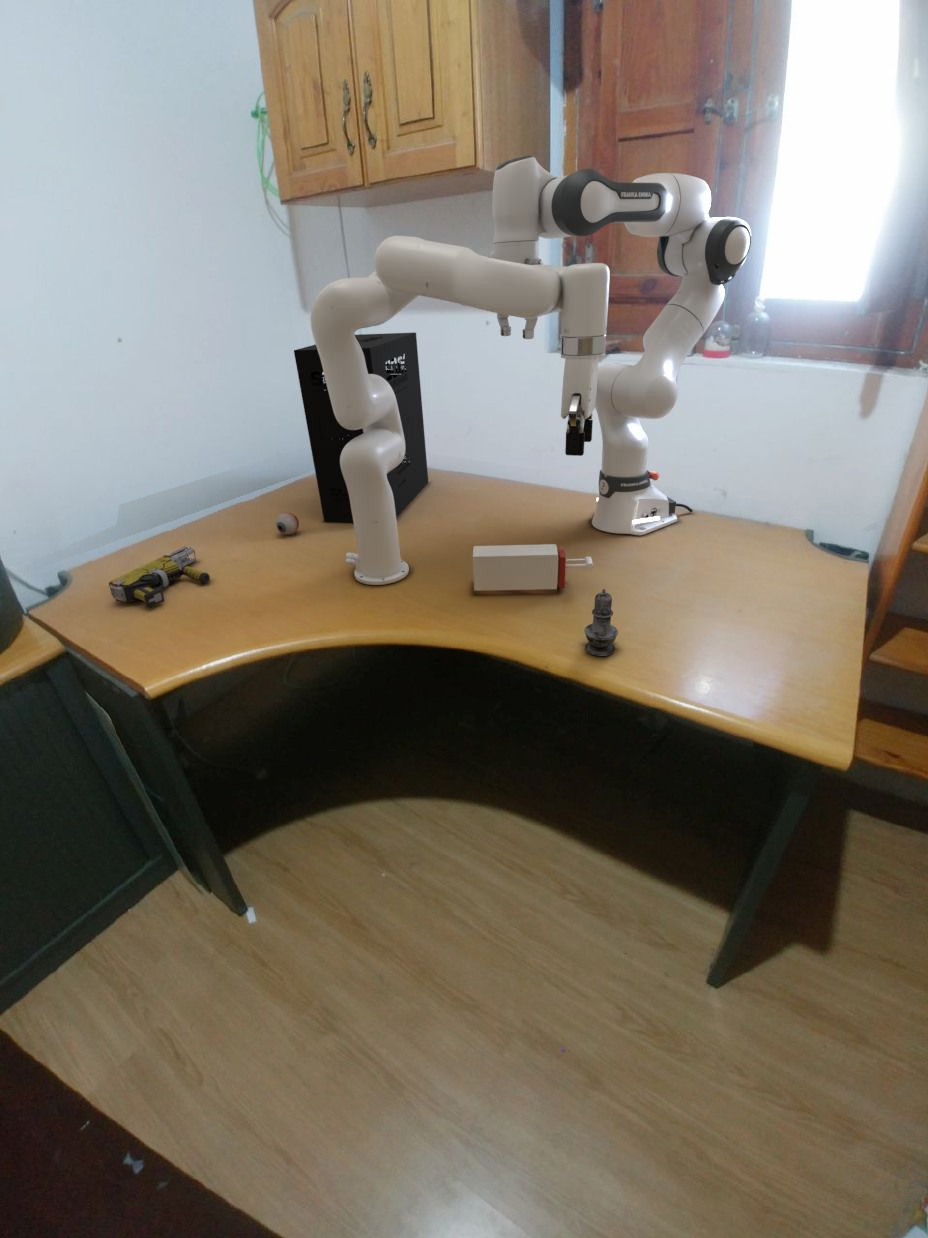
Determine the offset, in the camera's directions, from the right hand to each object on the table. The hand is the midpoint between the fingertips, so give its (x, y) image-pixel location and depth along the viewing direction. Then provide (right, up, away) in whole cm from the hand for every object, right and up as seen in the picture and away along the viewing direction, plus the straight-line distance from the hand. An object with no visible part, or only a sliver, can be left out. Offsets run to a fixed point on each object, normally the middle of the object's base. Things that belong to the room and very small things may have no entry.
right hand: (516, 337), depth 125 cm
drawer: (+5, -51, +5) cm, 52 cm away
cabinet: (0, -52, +6) cm, 52 cm away
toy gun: (-78, -51, +16) cm, 95 cm away
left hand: (+10, -27, -14) cm, 32 cm away
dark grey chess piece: (+14, -64, -17) cm, 67 cm away
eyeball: (-59, -35, +40) cm, 80 cm away
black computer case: (-37, -22, +61) cm, 74 cm away
